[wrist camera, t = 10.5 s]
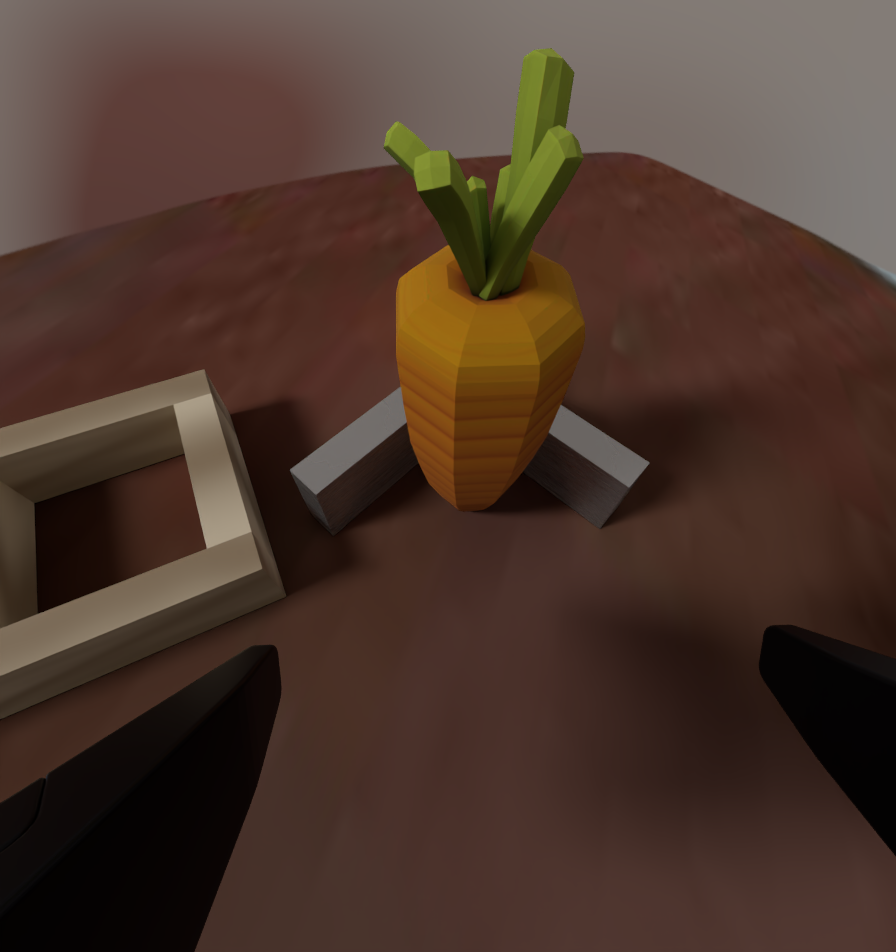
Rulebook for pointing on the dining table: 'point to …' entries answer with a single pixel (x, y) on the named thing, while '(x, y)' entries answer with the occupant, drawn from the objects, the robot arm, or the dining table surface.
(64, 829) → the robot arm
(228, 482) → the socket block
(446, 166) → the carrot
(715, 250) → the dining table surface
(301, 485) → the v-block
